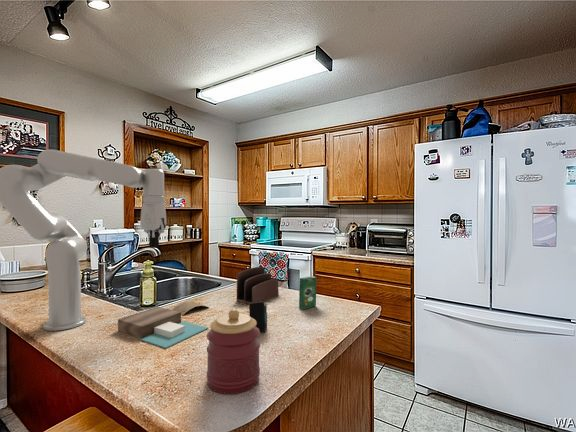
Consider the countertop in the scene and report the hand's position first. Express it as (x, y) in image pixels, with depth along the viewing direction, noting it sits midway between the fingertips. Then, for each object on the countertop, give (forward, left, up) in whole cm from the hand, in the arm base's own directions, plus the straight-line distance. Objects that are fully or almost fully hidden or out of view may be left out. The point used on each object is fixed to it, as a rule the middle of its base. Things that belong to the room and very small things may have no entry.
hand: (154, 247), depth 120 cm
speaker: (+43, +9, -27) cm, 52 cm away
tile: (+19, -9, -27) cm, 34 cm away
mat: (+21, -8, -27) cm, 36 cm away
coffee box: (+48, +40, -27) cm, 68 cm away
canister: (+56, -20, -27) cm, 65 cm away
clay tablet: (+6, +13, -28) cm, 31 cm away
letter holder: (+21, +41, -28) cm, 54 cm away
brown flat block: (+8, -8, -27) cm, 30 cm away
